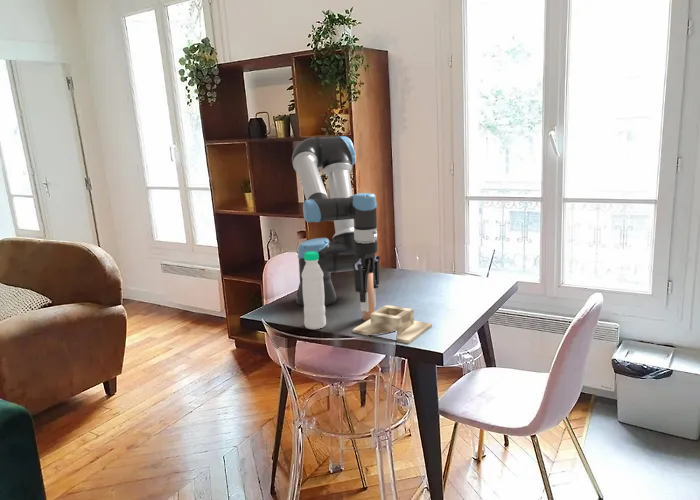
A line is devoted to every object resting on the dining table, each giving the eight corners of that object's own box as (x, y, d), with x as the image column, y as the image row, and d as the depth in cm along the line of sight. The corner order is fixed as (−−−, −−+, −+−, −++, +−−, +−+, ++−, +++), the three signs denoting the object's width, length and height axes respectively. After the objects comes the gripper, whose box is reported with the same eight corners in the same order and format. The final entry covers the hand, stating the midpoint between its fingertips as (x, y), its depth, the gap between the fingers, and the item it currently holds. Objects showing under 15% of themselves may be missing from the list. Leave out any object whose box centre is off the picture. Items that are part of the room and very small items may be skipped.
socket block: (352, 332, 173) (351, 314, 172) (378, 317, 186) (377, 300, 185) (409, 343, 162) (408, 324, 161) (432, 326, 175) (431, 308, 174)
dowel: (360, 319, 184) (358, 273, 181) (366, 316, 188) (365, 271, 184) (370, 321, 182) (369, 275, 179) (376, 317, 185) (375, 272, 182)
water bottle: (326, 321, 183) (322, 249, 178) (326, 329, 177) (322, 254, 171) (305, 323, 183) (300, 250, 178) (304, 330, 176) (299, 255, 171)
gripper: (361, 247, 170) (364, 318, 175) (388, 236, 184) (390, 303, 189) (341, 245, 174) (345, 314, 179) (369, 235, 188) (371, 300, 193)
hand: (368, 308), depth 184 cm, fingers closed on dowel, 4 cm apart
